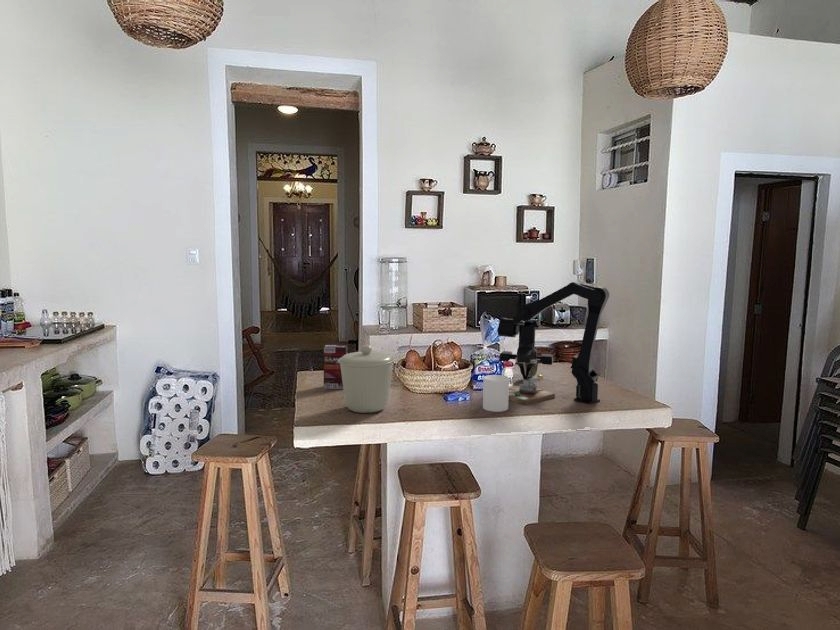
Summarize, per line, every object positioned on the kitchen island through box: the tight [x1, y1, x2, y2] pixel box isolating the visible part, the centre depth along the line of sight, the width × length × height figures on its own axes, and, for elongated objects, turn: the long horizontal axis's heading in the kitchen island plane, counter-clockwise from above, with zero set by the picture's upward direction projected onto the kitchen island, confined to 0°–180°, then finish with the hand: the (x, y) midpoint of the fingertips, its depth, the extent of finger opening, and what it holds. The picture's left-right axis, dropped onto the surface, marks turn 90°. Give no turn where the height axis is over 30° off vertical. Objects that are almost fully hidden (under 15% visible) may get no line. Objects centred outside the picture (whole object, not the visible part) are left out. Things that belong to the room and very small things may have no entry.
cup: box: [519, 361, 539, 379], centre depth 218 cm, size 8×7×8 cm
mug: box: [482, 374, 510, 413], centre depth 182 cm, size 8×10×12 cm
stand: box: [508, 385, 556, 406], centre depth 195 cm, size 15×15×3 cm
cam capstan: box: [518, 374, 544, 394], centre depth 195 cm, size 11×6×5 cm, turn 133°
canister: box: [338, 344, 395, 414], centre depth 178 cm, size 18×18×21 cm
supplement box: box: [322, 344, 348, 390], centre depth 205 cm, size 9×5×16 cm, turn 92°
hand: (525, 381), depth 200 cm, fingers closed
